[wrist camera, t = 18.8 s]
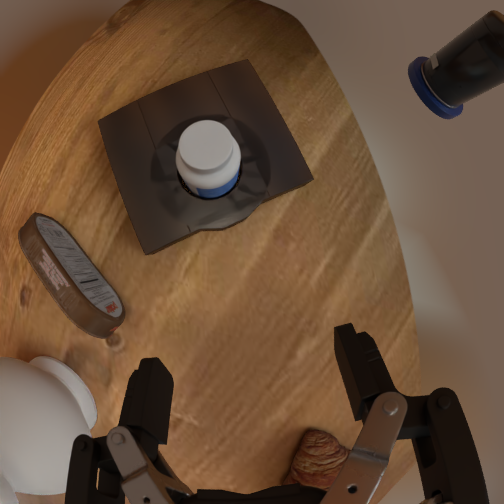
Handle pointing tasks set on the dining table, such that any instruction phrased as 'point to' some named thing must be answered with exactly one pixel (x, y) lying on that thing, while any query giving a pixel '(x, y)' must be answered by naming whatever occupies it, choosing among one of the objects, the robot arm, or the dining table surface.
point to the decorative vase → (40, 425)
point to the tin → (71, 276)
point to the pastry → (317, 460)
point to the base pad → (166, 144)
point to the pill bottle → (208, 159)
